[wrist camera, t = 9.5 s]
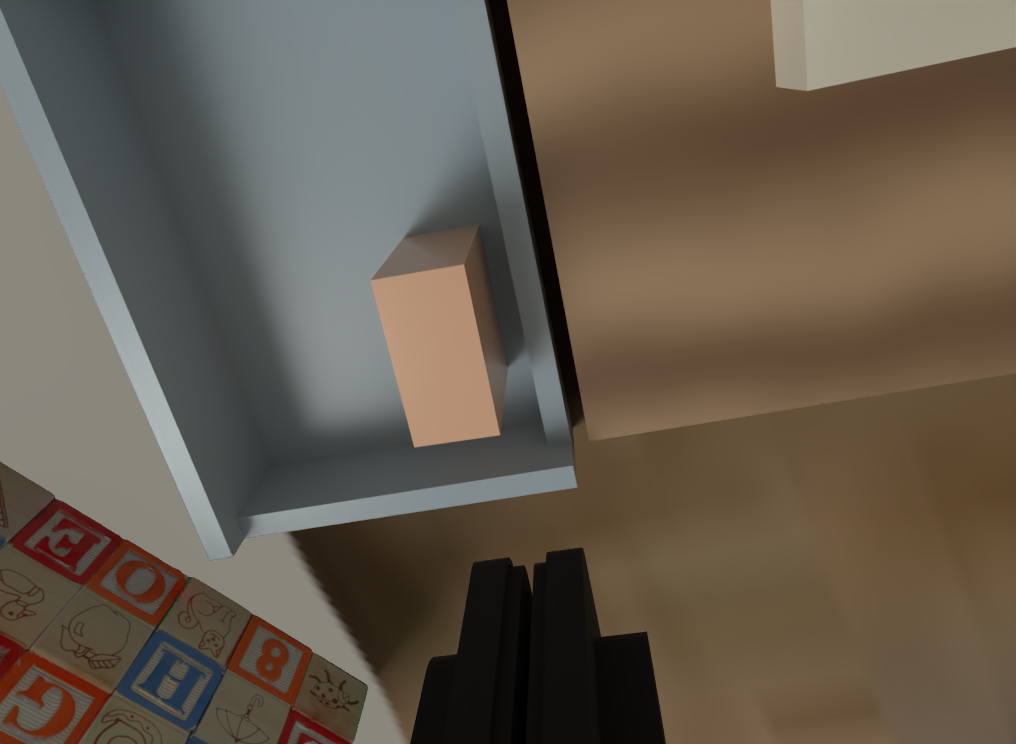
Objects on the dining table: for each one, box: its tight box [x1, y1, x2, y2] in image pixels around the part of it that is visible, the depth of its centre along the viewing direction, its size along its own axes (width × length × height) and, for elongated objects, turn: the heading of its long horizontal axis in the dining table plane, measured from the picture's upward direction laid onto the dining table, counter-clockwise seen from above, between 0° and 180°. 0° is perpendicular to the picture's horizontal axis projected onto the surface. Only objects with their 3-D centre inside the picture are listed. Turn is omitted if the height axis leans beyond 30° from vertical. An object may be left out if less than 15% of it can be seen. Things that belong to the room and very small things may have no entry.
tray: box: [0, 0, 577, 560], centre depth 22 cm, size 18×12×5 cm, turn 12°
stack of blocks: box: [0, 462, 368, 744], centre depth 26 cm, size 21×6×12 cm, turn 51°
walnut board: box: [507, 0, 1016, 441], centre depth 21 cm, size 16×14×3 cm
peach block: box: [370, 224, 508, 447], centre depth 22 cm, size 5×5×2 cm
